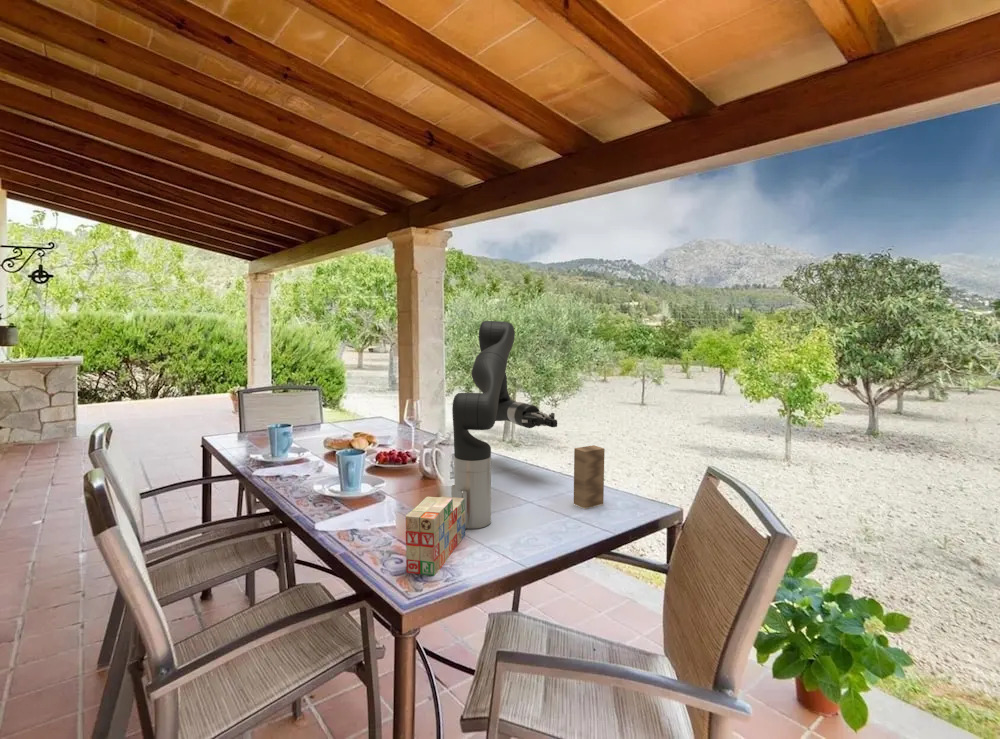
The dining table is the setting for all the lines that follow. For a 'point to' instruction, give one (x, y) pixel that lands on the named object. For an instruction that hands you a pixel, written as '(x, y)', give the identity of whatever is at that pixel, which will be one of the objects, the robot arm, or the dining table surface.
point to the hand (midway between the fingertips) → (555, 423)
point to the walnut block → (588, 476)
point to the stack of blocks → (433, 533)
